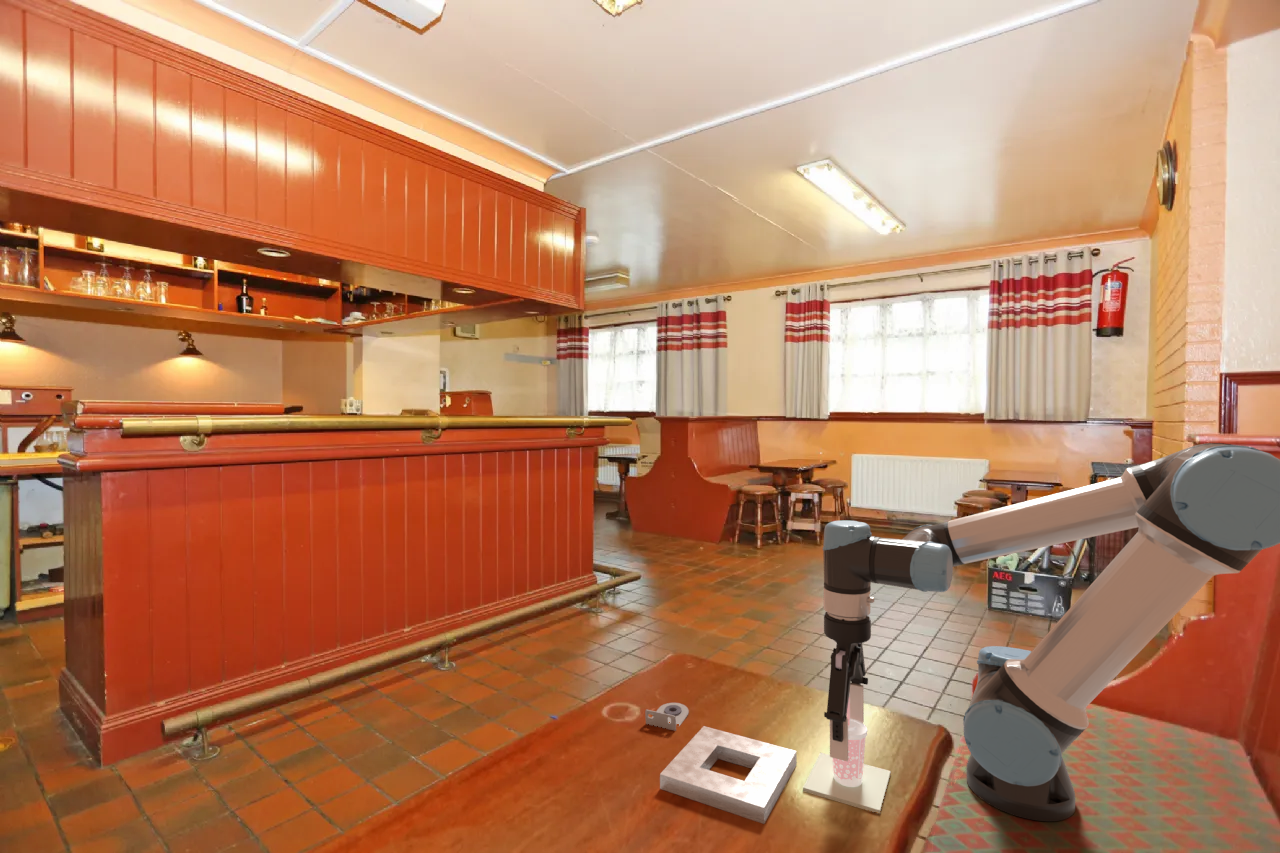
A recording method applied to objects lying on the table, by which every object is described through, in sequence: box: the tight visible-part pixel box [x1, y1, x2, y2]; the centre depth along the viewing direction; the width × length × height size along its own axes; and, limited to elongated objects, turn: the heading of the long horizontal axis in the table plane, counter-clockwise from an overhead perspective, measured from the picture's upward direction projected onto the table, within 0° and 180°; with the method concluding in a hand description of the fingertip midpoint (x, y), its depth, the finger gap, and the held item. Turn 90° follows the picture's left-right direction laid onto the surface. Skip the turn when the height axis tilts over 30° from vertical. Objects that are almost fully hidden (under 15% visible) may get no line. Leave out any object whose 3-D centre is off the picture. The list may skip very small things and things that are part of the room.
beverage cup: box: [828, 696, 868, 787], centre depth 102 cm, size 6×6×14 cm
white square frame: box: [659, 725, 798, 825], centre depth 104 cm, size 18×18×2 cm
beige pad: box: [802, 752, 891, 814], centre depth 102 cm, size 12×12×1 cm
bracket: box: [644, 702, 690, 732], centre depth 126 cm, size 7×10×4 cm, turn 154°
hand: (847, 738), depth 102 cm, fingers open, 13 cm apart
